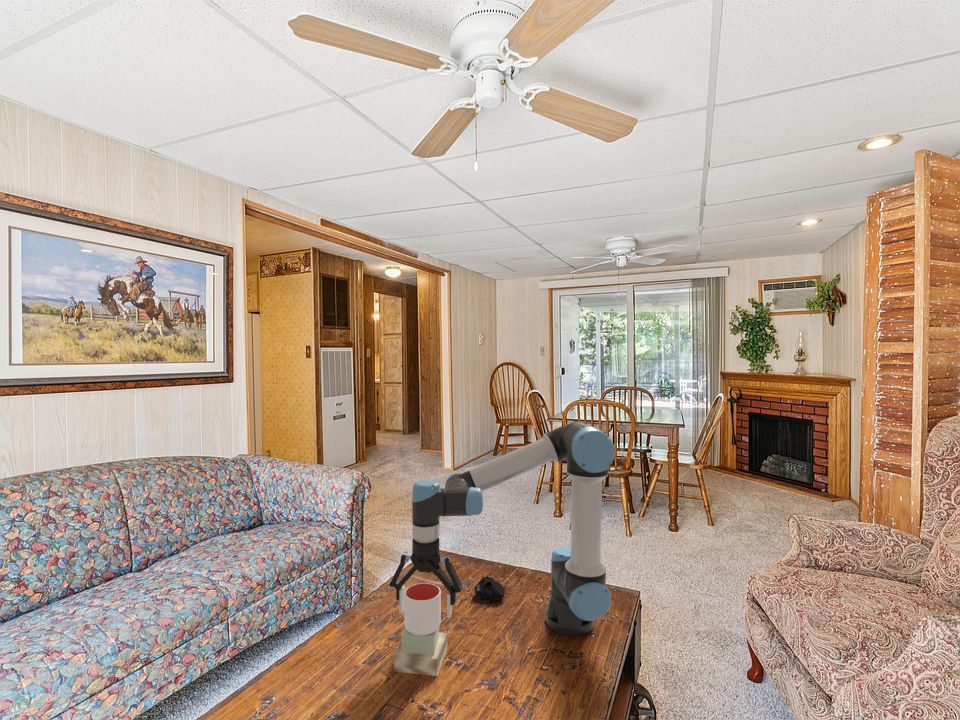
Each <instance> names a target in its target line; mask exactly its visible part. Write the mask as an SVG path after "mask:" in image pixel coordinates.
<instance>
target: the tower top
mask: <svg viewBox="0 0 960 720" xmlns="http://www.w3.org/2000/svg"><path fill="white" fill-rule="evenodd" d="M439 632H440V627H439V628H438V629H437V630H436V631H435V632H433V633H431V634H428V635H422V636H419V635H414V634H411V633H409V632H408V631H407V630H406V628H405V626H404V627H403V630H402V631H401V635H400V636H401V637H400V638H401V640H400V642H401V653H405V654H429V655H434V654H435V650H436V646H437V642H438V638H439Z"/></svg>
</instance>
